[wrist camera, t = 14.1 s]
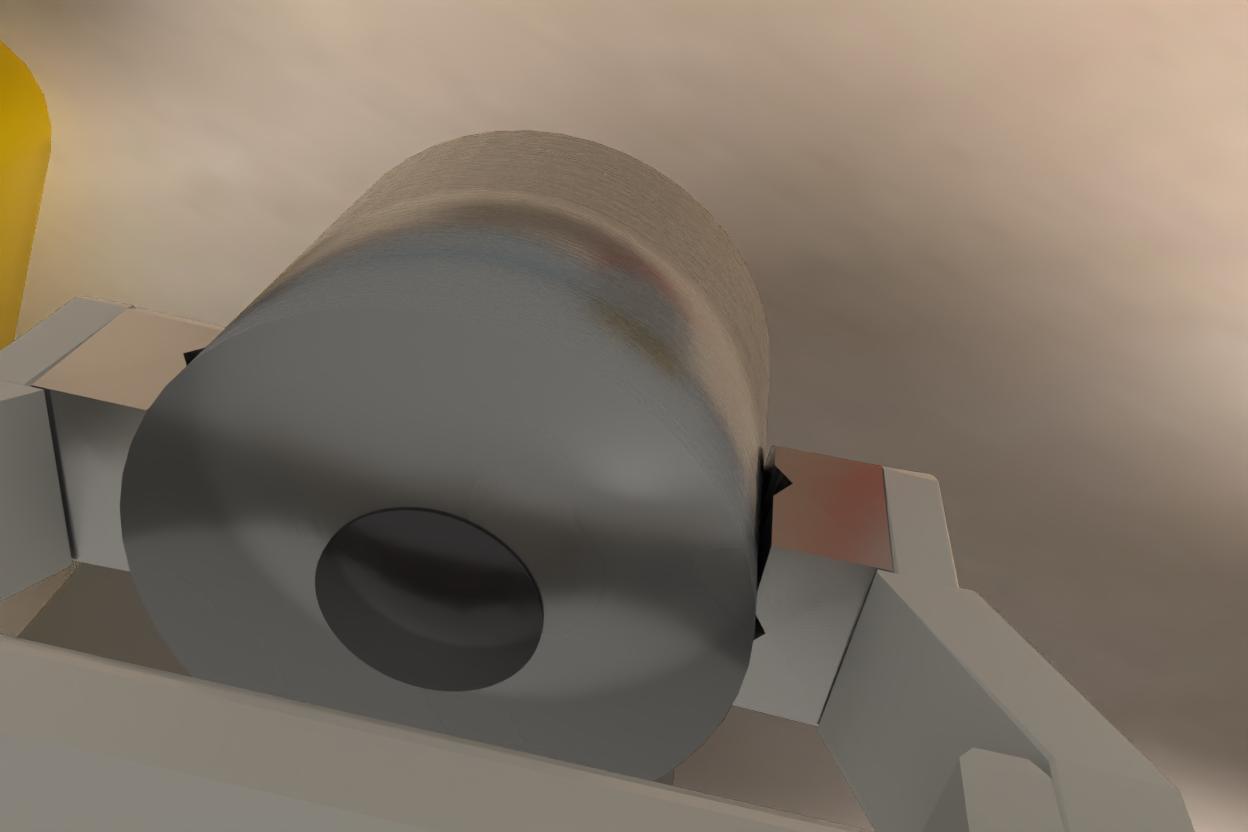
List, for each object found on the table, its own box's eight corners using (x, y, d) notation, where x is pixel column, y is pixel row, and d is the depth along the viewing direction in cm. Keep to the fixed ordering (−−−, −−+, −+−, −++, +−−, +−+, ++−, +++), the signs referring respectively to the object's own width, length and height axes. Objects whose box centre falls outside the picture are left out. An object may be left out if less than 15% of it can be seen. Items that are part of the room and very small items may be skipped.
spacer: (817, 178, 10) (823, 390, 7) (724, 574, 13) (694, 871, 9) (312, 90, 10) (68, 249, 7) (324, 495, 13) (152, 756, 10)
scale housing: (691, 593, 31) (668, 829, 24) (617, 883, 38) (582, 1125, 31) (75, 466, 31) (-122, 663, 24) (120, 778, 38) (-20, 996, 32)
